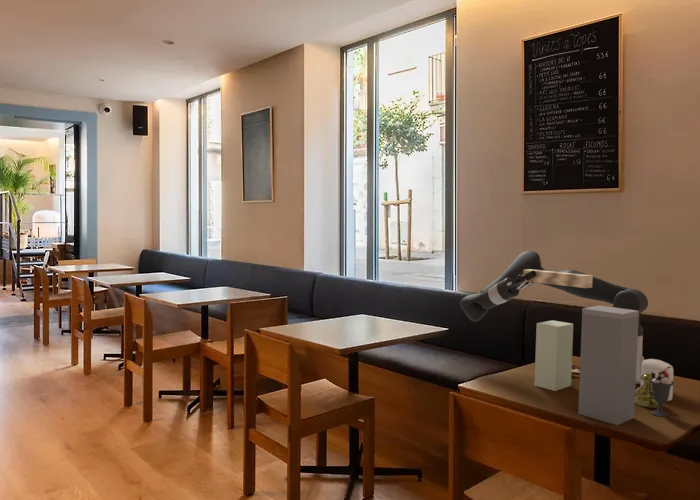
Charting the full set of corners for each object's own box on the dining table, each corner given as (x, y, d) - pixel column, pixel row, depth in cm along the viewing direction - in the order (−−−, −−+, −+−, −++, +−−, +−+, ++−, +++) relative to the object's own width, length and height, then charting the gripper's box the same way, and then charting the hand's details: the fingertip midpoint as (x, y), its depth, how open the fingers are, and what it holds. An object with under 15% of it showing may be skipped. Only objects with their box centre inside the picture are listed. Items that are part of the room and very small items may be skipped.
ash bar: (523, 280, 210) (523, 269, 210) (529, 280, 213) (529, 269, 212) (585, 288, 192) (586, 276, 191) (592, 287, 194) (592, 275, 194)
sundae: (675, 418, 172) (678, 368, 172) (651, 416, 174) (653, 367, 173) (668, 411, 179) (670, 363, 178) (644, 409, 180) (646, 361, 179)
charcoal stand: (578, 413, 176) (582, 308, 174) (595, 407, 182) (599, 305, 180) (617, 425, 166) (622, 314, 164) (633, 418, 173) (638, 310, 171)
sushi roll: (595, 371, 226) (595, 361, 225) (596, 381, 212) (597, 370, 212) (554, 367, 231) (555, 357, 231) (553, 377, 217) (554, 366, 217)
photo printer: (637, 393, 197) (639, 357, 196) (646, 391, 199) (648, 355, 198) (665, 402, 188) (667, 364, 187) (674, 400, 190) (676, 363, 189)
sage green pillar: (534, 385, 204) (536, 323, 203) (550, 380, 211) (552, 320, 209) (555, 391, 198) (557, 326, 197) (570, 385, 204) (573, 323, 203)
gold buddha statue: (660, 410, 180) (661, 378, 180) (633, 405, 184) (634, 374, 184) (661, 403, 186) (663, 372, 186) (636, 399, 190) (637, 369, 190)
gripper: (487, 283, 216) (522, 263, 204) (510, 281, 225) (545, 262, 213) (495, 302, 214) (531, 283, 202) (518, 299, 223) (554, 280, 211)
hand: (538, 272), depth 207 cm, fingers closed on ash bar, 4 cm apart
